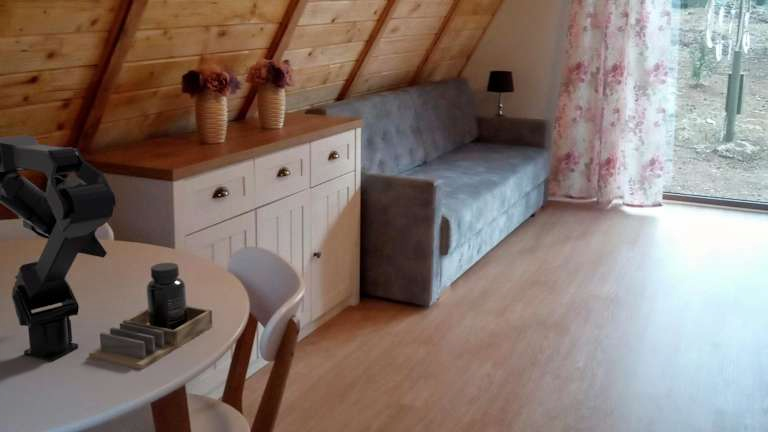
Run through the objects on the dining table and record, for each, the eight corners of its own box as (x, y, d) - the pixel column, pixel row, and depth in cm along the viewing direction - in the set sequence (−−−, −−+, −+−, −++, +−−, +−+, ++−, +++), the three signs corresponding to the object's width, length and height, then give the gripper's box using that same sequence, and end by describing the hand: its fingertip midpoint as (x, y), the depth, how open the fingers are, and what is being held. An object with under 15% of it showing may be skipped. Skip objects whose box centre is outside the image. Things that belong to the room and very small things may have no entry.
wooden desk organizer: (142, 369, 138) (141, 348, 137) (89, 356, 142) (87, 336, 141) (212, 326, 155) (211, 307, 154) (163, 317, 160) (162, 298, 159)
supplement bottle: (188, 320, 156) (185, 259, 153) (187, 334, 150) (184, 271, 146) (150, 322, 155) (146, 261, 152) (147, 337, 148) (143, 273, 145)
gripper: (83, 173, 141) (145, 224, 151) (33, 157, 153) (93, 205, 164) (42, 227, 137) (108, 275, 148) (-6, 206, 150) (58, 252, 160)
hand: (92, 249), depth 155 cm, fingers open, 9 cm apart
